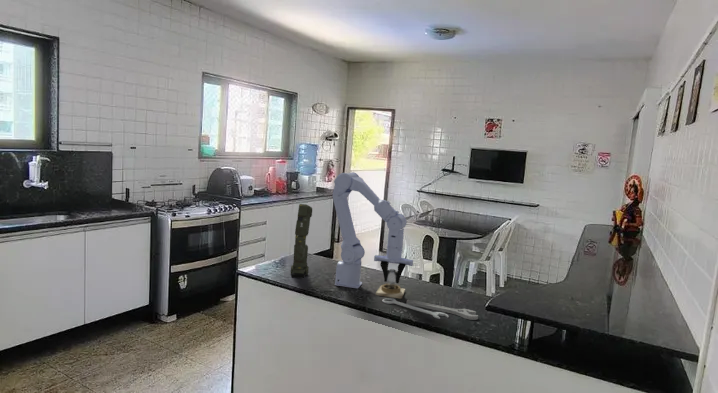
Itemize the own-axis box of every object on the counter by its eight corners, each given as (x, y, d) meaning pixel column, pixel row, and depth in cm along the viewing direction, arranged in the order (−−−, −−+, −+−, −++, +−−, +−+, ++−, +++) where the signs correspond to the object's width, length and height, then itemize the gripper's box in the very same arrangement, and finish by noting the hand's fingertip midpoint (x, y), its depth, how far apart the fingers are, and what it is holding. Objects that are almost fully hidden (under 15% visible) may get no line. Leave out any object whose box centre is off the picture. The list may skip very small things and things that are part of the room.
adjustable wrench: (405, 305, 163) (405, 300, 163) (411, 300, 169) (412, 296, 169) (475, 322, 152) (475, 316, 152) (479, 316, 158) (480, 311, 157)
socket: (375, 295, 170) (376, 288, 170) (380, 287, 180) (381, 281, 179) (401, 298, 168) (402, 292, 168) (404, 291, 178) (405, 285, 177)
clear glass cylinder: (384, 289, 172) (386, 270, 172) (387, 286, 176) (389, 267, 175) (394, 291, 171) (396, 272, 170) (397, 288, 175) (399, 269, 174)
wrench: (444, 323, 150) (450, 318, 154) (444, 318, 150) (451, 314, 154) (379, 302, 164) (386, 299, 168) (379, 298, 163) (386, 295, 168)
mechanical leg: (305, 278, 180) (312, 203, 184) (287, 277, 180) (294, 201, 185) (309, 277, 194) (315, 207, 198) (292, 276, 194) (298, 205, 198)
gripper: (373, 246, 170) (370, 281, 171) (412, 251, 167) (409, 287, 168) (377, 242, 177) (374, 277, 178) (414, 247, 174) (411, 282, 175)
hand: (391, 281), depth 174 cm, fingers closed on clear glass cylinder, 4 cm apart
